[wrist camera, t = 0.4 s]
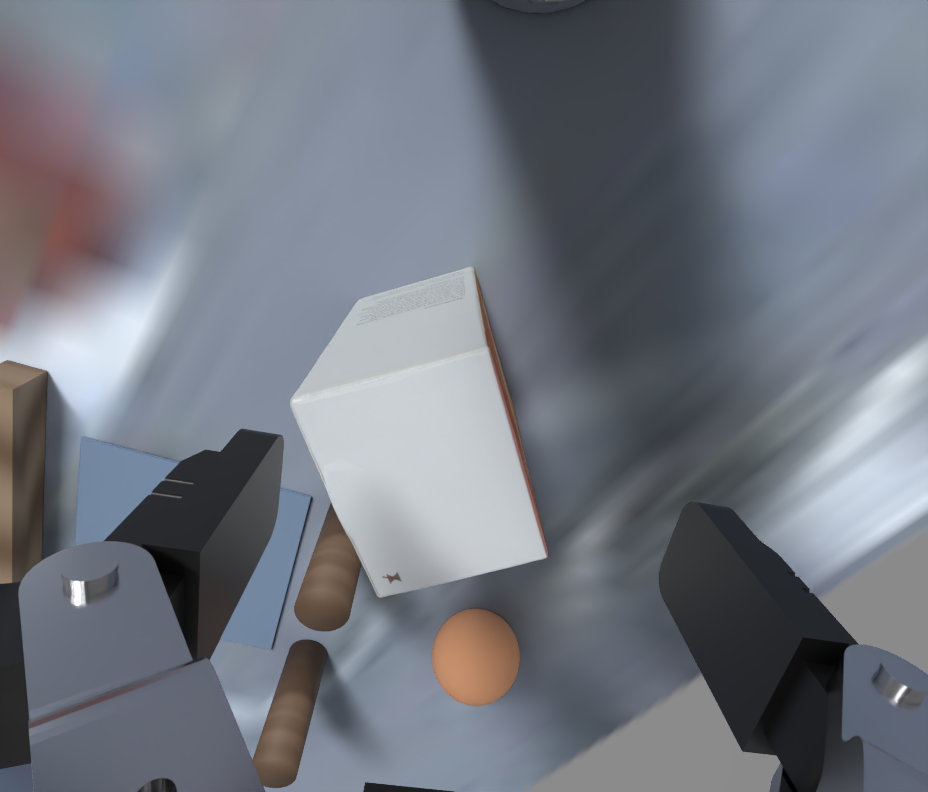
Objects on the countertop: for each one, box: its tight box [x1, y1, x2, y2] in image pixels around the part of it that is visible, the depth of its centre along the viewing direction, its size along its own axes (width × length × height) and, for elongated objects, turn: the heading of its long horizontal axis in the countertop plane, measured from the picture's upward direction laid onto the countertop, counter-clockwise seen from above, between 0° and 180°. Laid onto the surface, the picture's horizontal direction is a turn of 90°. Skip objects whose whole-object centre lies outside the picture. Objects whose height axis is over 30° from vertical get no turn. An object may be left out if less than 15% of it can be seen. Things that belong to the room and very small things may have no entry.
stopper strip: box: [0, 360, 47, 584], centre depth 32 cm, size 20×2×2 cm, turn 162°
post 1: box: [252, 640, 327, 788], centre depth 34 cm, size 3×3×8 cm
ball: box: [432, 609, 520, 706], centre depth 34 cm, size 6×6×6 cm
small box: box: [290, 267, 548, 598], centre depth 23 cm, size 8×6×13 cm
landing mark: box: [75, 437, 311, 650], centre depth 34 cm, size 13×13×1 cm
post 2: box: [294, 503, 362, 631], centre depth 29 cm, size 3×3×8 cm
